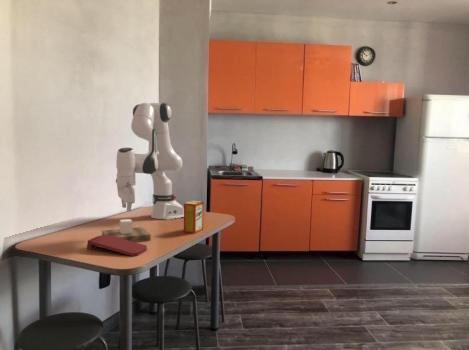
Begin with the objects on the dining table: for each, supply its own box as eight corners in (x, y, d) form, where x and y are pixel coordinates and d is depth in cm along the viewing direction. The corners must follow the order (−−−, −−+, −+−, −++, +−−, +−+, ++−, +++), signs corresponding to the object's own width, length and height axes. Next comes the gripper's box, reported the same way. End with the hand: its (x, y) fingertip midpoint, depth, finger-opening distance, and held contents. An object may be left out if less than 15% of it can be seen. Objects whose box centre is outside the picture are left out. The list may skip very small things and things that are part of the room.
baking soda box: (194, 233, 213) (195, 203, 212) (183, 232, 216) (184, 202, 214) (202, 229, 222) (203, 200, 220) (192, 228, 225) (192, 199, 223)
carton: (147, 256, 184) (100, 242, 191) (149, 246, 184) (101, 232, 190) (134, 264, 173) (83, 249, 179) (135, 253, 172) (85, 239, 178)
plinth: (141, 232, 212) (141, 227, 212) (150, 240, 198) (150, 234, 198) (102, 236, 203) (101, 230, 203) (108, 244, 189) (108, 238, 189)
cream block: (129, 230, 204) (129, 219, 203) (132, 233, 199) (132, 221, 199) (119, 231, 201) (119, 219, 201) (122, 234, 197) (122, 221, 196)
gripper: (138, 184, 190) (138, 213, 192) (127, 178, 208) (127, 205, 210) (124, 184, 187) (125, 214, 189) (115, 179, 205) (115, 205, 207)
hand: (126, 209), depth 199 cm, fingers open, 8 cm apart
